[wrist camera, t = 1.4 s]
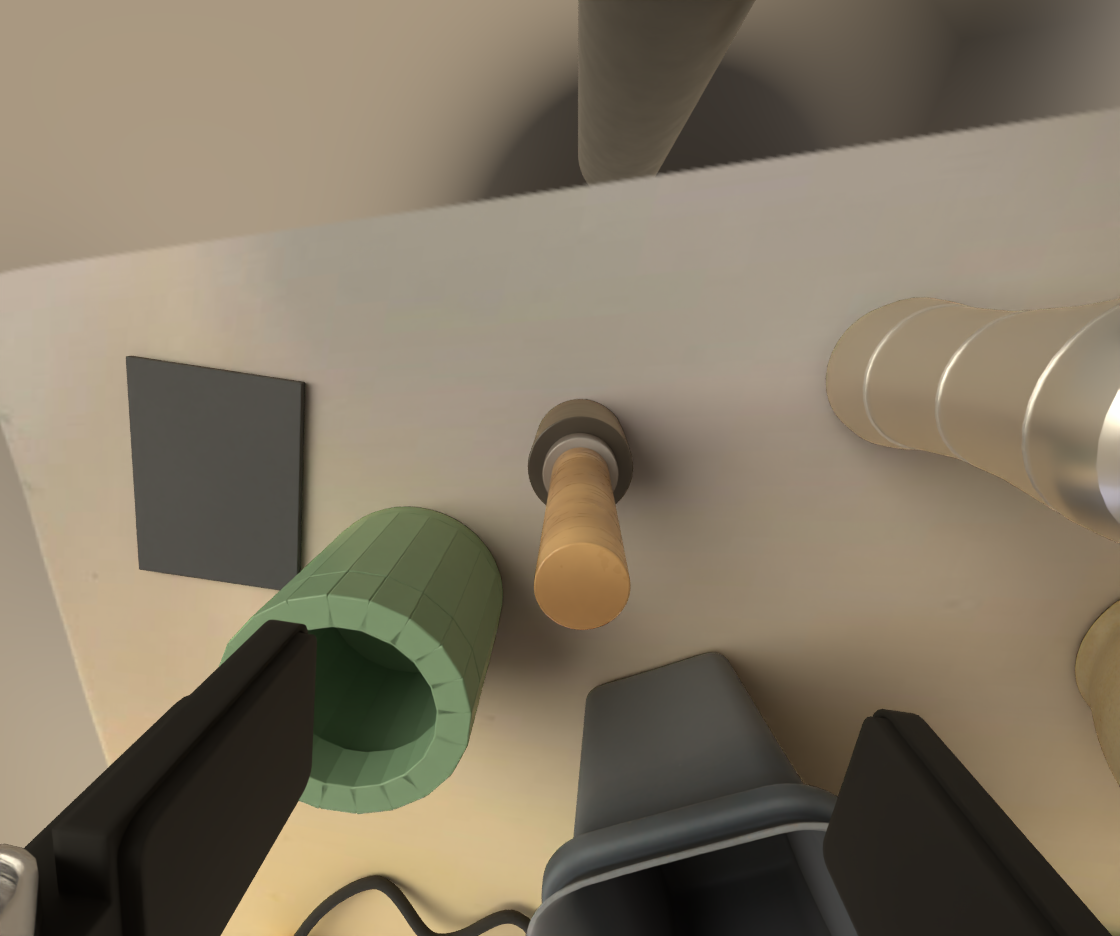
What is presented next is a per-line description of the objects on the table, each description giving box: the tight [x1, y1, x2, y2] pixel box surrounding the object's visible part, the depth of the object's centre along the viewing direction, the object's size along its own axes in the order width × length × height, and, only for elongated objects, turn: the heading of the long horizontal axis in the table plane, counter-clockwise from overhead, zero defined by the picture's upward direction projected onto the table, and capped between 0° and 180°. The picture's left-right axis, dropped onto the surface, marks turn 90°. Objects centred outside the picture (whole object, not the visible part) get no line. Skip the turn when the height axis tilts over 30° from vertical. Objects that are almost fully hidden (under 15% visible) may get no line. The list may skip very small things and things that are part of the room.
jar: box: [219, 507, 503, 814], centre depth 27 cm, size 10×10×10 cm
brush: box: [528, 399, 633, 630], centre depth 22 cm, size 5×5×16 cm
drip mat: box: [126, 356, 305, 590], centre depth 30 cm, size 12×9×1 cm
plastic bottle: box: [826, 298, 1120, 543], centre depth 18 cm, size 6×7×20 cm
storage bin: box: [526, 653, 858, 936], centre depth 28 cm, size 21×16×14 cm
